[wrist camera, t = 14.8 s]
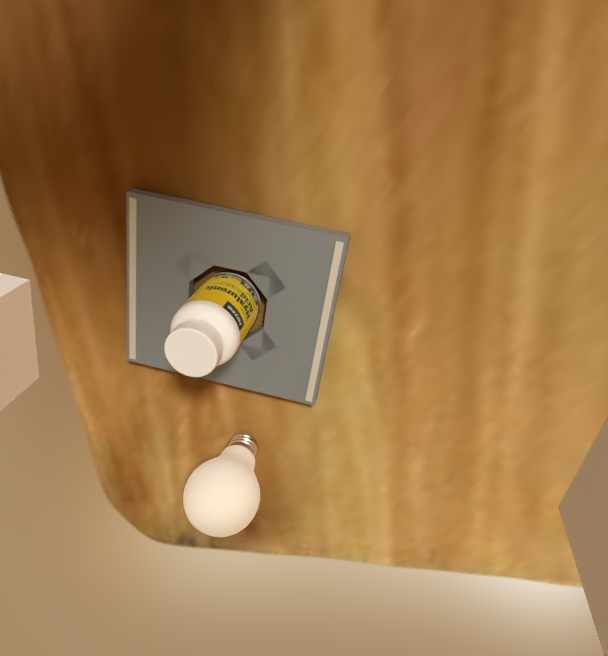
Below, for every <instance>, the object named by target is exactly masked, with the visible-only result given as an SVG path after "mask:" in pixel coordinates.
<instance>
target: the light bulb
mask: <svg viewBox="0 0 608 656" xmlns="http://www.w3.org/2000/svg"><path fill="white" fill-rule="evenodd" d="M257 452H258V446H257V442H256V441H255V440H254V438H252V437H251V436H250V435H247V434H237V435H234V436H233V437H232V438H231V439H230V442H229V444H228V445H227V447H226V448H225V449H224V450H223V451H222V453H221V454H220V456H218V457H216V458H213V459H211V460H208V461H206V462H204V463H202V464H201V465H200V466H199V467H197V468H196V469H195V470H194V471H193V473H192V474H191V475H190V477H189V478H188V480H187V483H186V486H185V488H184V494H183V504H184V510H185V513H186V515H187V517H188V519H189V521H190V522H191V524H192V525H193V526H194V527H195V528H197V529H198V530H199V531H201V532H202V533H204V534H206V535H209V536H213V537H227V536H231V535H234V534H236V533H238V532H240V531H241V530H243V529H244V528H246V527H247V525H248V524H249V523H250V522H251V521H252V520H253V518H254V516H255V514H256V512H257V510H258V507H259V502H260V487H259V484H258V481H257V478H256V476H255V473H254V467H255V458H256V455H257Z"/></svg>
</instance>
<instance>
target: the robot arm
mask: <svg viewBox="0 0 608 656" xmlns="http://www.w3.org/2000/svg"><path fill="white" fill-rule="evenodd" d="M38 378H39V371H38V359H37V350H36V340H35V329H34V319H33V309H32V299H31V289H30V280H28V279H24V278H20V277H16V276H11V275H7V274H2V273H0V411H1V410H2V409H3V408H5V407H6V406H7V405H8V404H9V403H10V402H11V401H13V400H14V399H15V398H16V397H17V396H18V395H20V394H21V393H22V392H23V391H24V390H25V389H26V388H28V387H29V386H30V385H31V384H32V383H33V382H35V381H36V380H37V379H38ZM558 508H559V511H560V514H561V517H562V521H563V524H564V527H565V530H566V533H567V537H568V540H569V543H570V546H571V550H572V553H573V556H574V559H575V562H576V566H577V569H578V572H579V575H580V579H581V582H582V585H583V588H584V592H585V595H586V598H587V601H588V604H589V608H590V611H591V614H592V617H593V621H594V624H595V627H596V630H597V633H598V637H599V640H600V643H601V646H602V649H603V653H604V656H608V417H607V419H606V420H605V422H604V424H603V426H602V428H601V430H600V431H599V433H598V435H597V437H596V439H595V441H594V443H593V444H592V446H591V448H590V450H589V452H588V454H587V455H586V457H585V459H584V461H583V463H582V465H581V466H580V468H579V470H578V472H577V474H576V476H575V477H574V479H573V481H572V483H571V485H570V487H569V488H568V490H567V492H566V494H565V496H564V498H563V499H562V501H561V503H560V505H559V507H558Z"/></svg>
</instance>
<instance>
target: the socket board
mask: <svg viewBox="0 0 608 656" xmlns="http://www.w3.org/2000/svg"><path fill="white" fill-rule="evenodd" d="M349 238H350V234H349V233H344V232H340V231H335V230H330V229H325V228H321V227H316V226H311V225H306V224H302V223H297V222H292V221H287V220H283V219H278V218H273V217H268V216H264V215H259V214H254V213H249V212H245V211H240V210H235V209H230V208H226V207H221V206H216V205H211V204H207V203H202V202H197V201H192V200H188V199H183V198H178V197H173V196H169V195H164V194H159V193H154V192H150V191H145V190H140V189H135V188H132V189H130V190H128V191H126V261H127V361H131V362H135V363H139V364H144V365H148V366H152V367H156V368H160V369H164V370H169V371H173V372H177V373H180V372H178V371H177V370H176V369H174V368H173V367H172V366H171V364H170V363H169V362H168V360H167V358H166V355H165V350H164V345H165V341H166V339H167V337H168V336H169V334H170V328H171V323H172V320H173V317H174V316H175V314H176V313H177V311H178V310H179V309H180V308H181V306H182V305H183V304H184V303H185V302H186V301H187V300H188V299H189V298H190V297H191V296H192V295H193V292H194V278H196V277H197V276H199V275H200V274H202V273H203V272H205V271H206V270H207V269H209V268H210V267H212V266H213V265H215V266H219V267H224V268H229V269H233V270H238V271H242V272H247V274H248V275H249V276H250V278H251V279H252V280H253V281H254V283H255V284H256V285H257V287H258V288H259V289H260V291H261V292H262V293H263V295H264V296H265V297H266V299H267V305H266V313H265V320H264V325H262V326H260V327H259V328H257V329H255V330H254V331H252V332H250V333H249V334H247V335H246V337H245V338H244V340H243V341H242V343H241V345H240V346H239V348H238V349H237V351H236V352H235V354H234V355H233V356H232V358H231V359H229V360H228V361H227V362H225V363H224V364H221V365H219V366H216V367H215V368H214V369H213V371H211V372H210V373H209V374H207V375H205V376H202V377H198V378H202V379H206V380H210V381H214V382H218V383H222V384H227V385H231V386H235V387H239V388H243V389H247V390H251V391H256V392H260V393H264V394H268V395H272V396H276V397H280V398H285V399H289V400H293V401H297V402H301V403H305V404H310V405H314V406H315V402H316V399H317V394H318V389H319V384H320V379H321V375H322V370H323V365H324V360H325V355H326V350H327V345H328V340H329V336H330V331H331V326H332V321H333V316H334V311H335V306H336V302H337V297H338V292H339V287H340V282H341V277H342V272H343V268H344V263H345V258H346V253H347V248H348V243H349ZM181 374H182V373H181Z"/></svg>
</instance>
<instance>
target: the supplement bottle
mask: <svg viewBox="0 0 608 656" xmlns="http://www.w3.org/2000/svg"><path fill="white" fill-rule="evenodd" d="M259 311H260V297H259V294H258V292H257V290H256V288H255V287H254V285H253V284H252V283H251V282H250V281H249V280H248V279H246V278H245V277H243V276H241V275H239V274H236V273H232V272H222V273H218V274H215V275H213V276H212V277H210V278H209V279H208V280H207V281H205V282H204V283H203V285H202V286H201V287H200V288H199V289H198V290H197V291H196V292H195V293H194V294H193V295H192V296H191V297H190V298H189V299H188V300H187V301H186V302H185V303H184V304H183V305H182V306H181V308H180V309H179V310H178V311H177V313H176V314H175V316H174V317H173V320H172V323H171V328H170V334H169V336H168V337H167V339H166V341H165V345H164V350H165V355H166V358H167V360H168V362H169V363H170V364H171V366H172V367H173V368H174V369H176V370H177V371H178V372H180V373H182V374H184V375H186V376H190V377H202V376H205V375H207V374H209V373H210V372H211V371H213V369H214V368H215V367H216V366H219V365H221V364H224V363H225V362H227V361H228V360H229V359H231V358H232V356H233V355H234V354H235V352H236V351H237V349H238V348H239V346H240V345H241V343H242V341H243V340H244V338H245V337H246V335H247V334H248V332H249V330H250V329H251V327H252V325H253V324H254V322H255V320H256V318H257V316H258V314H259Z"/></svg>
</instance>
